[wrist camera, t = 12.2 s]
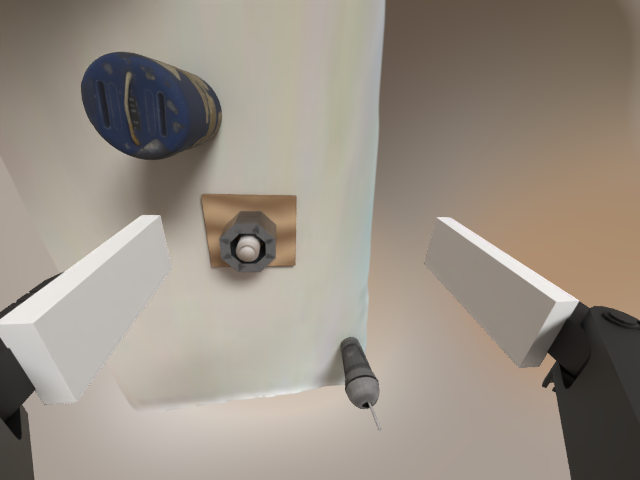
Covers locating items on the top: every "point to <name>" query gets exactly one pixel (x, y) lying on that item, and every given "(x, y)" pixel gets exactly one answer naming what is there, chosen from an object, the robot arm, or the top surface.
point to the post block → (276, 209)
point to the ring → (249, 225)
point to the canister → (148, 105)
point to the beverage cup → (359, 376)
